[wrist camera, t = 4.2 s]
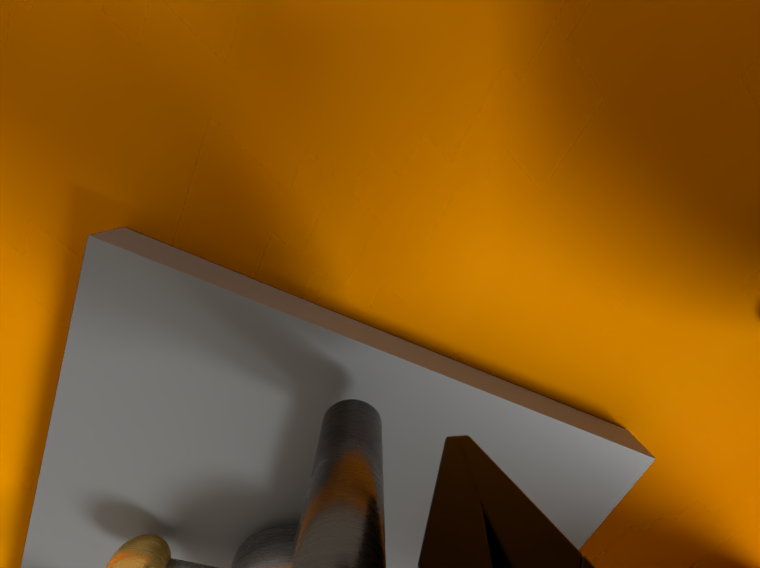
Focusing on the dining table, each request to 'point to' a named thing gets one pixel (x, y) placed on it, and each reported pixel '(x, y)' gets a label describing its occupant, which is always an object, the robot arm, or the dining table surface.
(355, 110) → the dining table surface
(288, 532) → the grey metal rounded piece
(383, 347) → the stand
